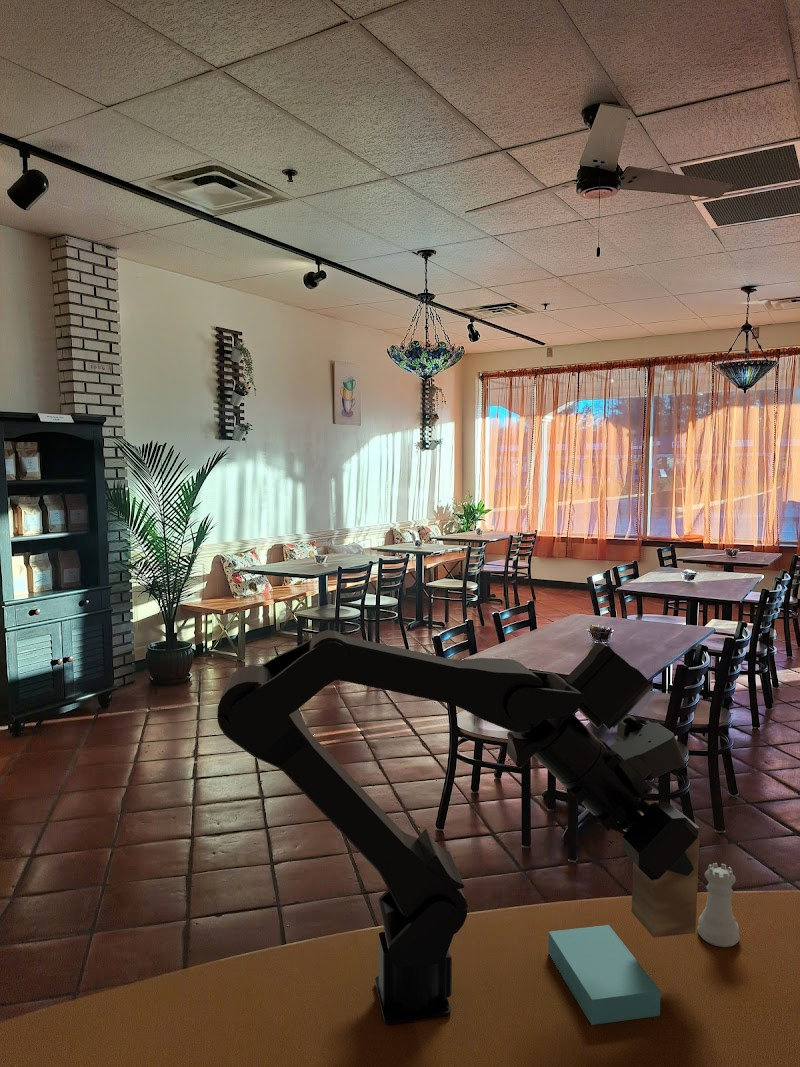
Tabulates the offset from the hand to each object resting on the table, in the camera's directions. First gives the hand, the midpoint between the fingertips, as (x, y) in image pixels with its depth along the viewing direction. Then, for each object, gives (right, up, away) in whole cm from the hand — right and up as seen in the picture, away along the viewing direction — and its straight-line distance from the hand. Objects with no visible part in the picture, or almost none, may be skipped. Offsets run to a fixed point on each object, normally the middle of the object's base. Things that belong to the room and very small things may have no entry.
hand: (677, 859), depth 79 cm
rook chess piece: (+7, -12, +7) cm, 16 cm away
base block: (-8, -12, -1) cm, 15 cm away
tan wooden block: (-1, -7, 0) cm, 7 cm away
